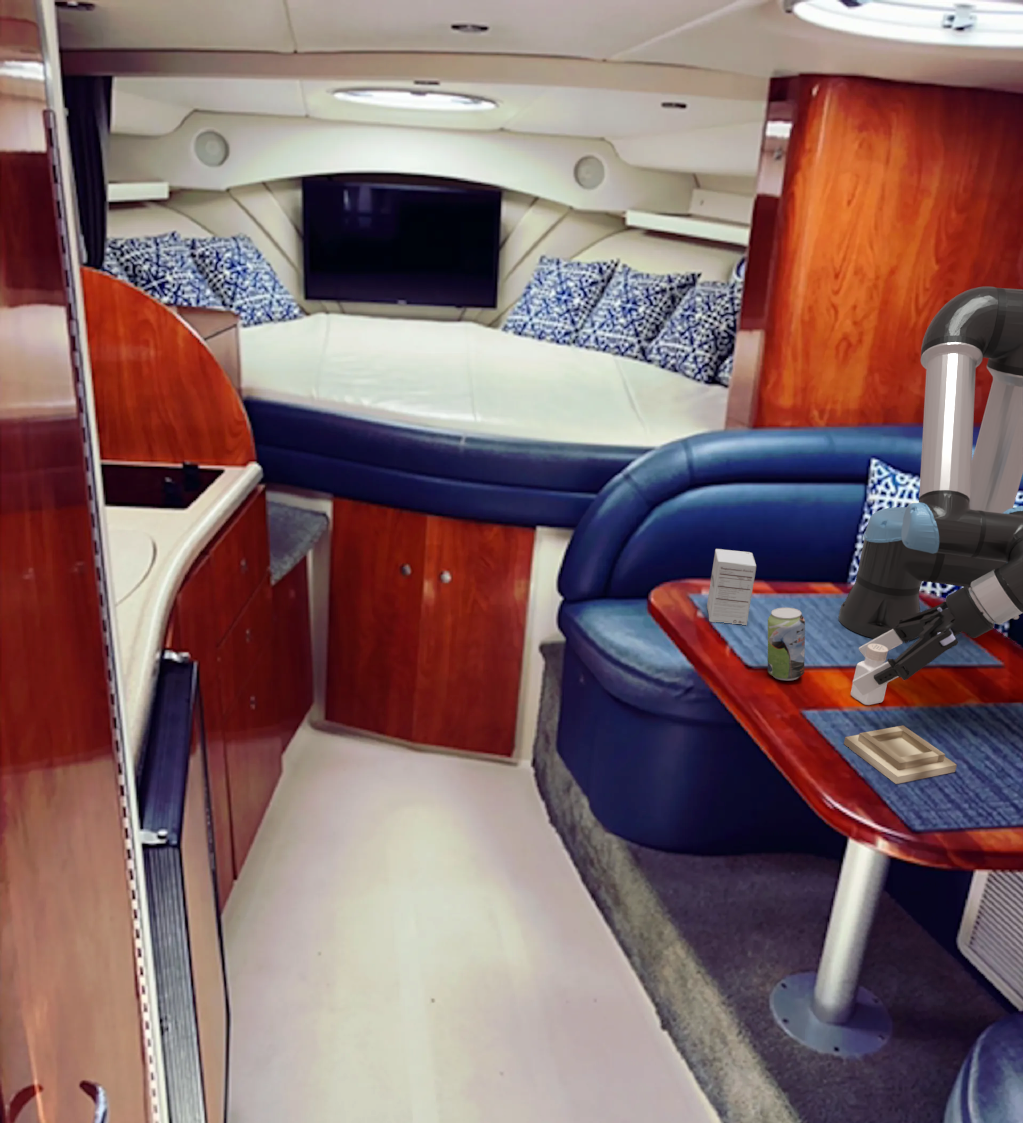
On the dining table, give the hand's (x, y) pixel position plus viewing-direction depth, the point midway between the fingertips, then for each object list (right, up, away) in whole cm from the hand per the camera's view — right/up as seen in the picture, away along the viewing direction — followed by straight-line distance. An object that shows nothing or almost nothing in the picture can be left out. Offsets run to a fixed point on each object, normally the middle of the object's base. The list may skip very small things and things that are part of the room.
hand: (860, 670), depth 158 cm
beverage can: (-11, -2, +7) cm, 13 cm away
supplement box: (-15, +7, +30) cm, 34 cm away
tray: (0, -11, -15) cm, 19 cm away
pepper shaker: (+1, -5, +1) cm, 5 cm away
